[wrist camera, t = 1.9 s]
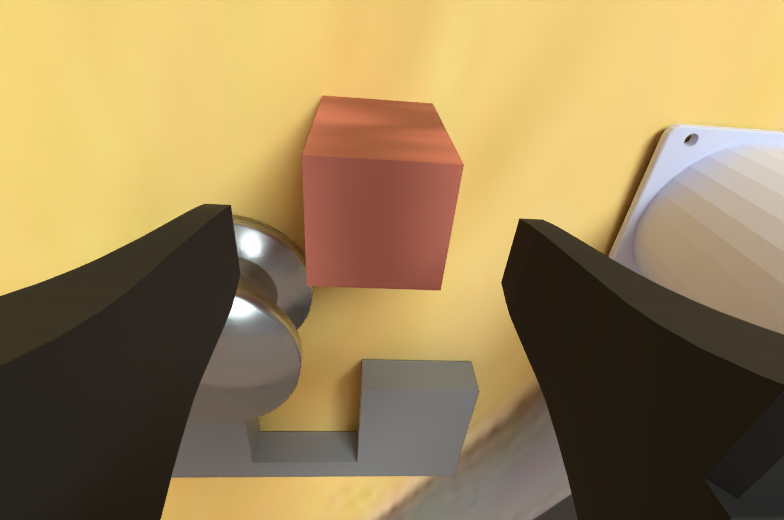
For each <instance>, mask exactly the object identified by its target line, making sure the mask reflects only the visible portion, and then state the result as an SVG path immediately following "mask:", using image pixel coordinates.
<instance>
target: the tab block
mask: <svg viewBox="0 0 784 520" xmlns="http://www.w3.org/2000/svg"><path fill="white" fill-rule="evenodd" d="M463 166H464V164H463V162H462V160H461V158H460V156H459V154H458V152H457V150H456V149H455V147H454V145H453V143H452V141H451V139H450V137H449V135H448V133H447V131H446V129H445V127H444V125H443V123H442V121H441V119H440V117H439V115H438V113H437V111H436V109H435V107H434V105H433V104H431V103H417V102H403V101H389V100H376V99H362V98H348V97H334V96H322V99H321V102H320V105H319V107H318V110H317V113H316V116H315V119H314V121H313V124H312V127H311V130H310V133H309V136H308V138H307V141H306V144H305V147H304V150H303V153H302V176H303V202H304V228H305V255H306V281H307V286H326V287H355V288H385V289H415V290H441V285H442V279H443V274H444V268H445V263H446V258H447V252H448V247H449V241H450V236H451V231H452V225H453V220H454V214H455V209H456V204H457V198H458V193H459V187H460V182H461V177H462V171H463Z"/></svg>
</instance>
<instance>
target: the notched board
mask: <svg viewBox="0 0 784 520" xmlns="http://www.w3.org/2000/svg"><path fill="white" fill-rule="evenodd" d="M478 393H479V389H478V385H477V381H476V378H475V374H474V370H473V367H472V363H471V361H418V360H363V359H362V372H361V388H360V405H359V421H358V432H260V431H259V424H258V417H256V418H253V419H250V420H245V421H240V422H233V423H217V424H216V423H200V422H192V421H187V424H186V427H185V430H184V434H183V437H182V440H181V444H180V448H179V451H178V455H177V458H176V462H175V466H174V469H173V473H172V476H171V477H325V476H454V473H455V470H456V466H457V463H458V460H459V456H460V453H461V450H462V446H463V443H464V440H465V436H466V433H467V430H468V426H469V423H470V420H471V416H472V413H473V410H474V406H475V403H476V400H477V396H478Z"/></svg>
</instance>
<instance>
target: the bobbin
mask: <svg viewBox="0 0 784 520" xmlns="http://www.w3.org/2000/svg"><path fill="white" fill-rule="evenodd" d="M232 217H233V224H234V231H235V238H236V245H237V252H238V259H239V266H240V273H241V275H240V279H239V283H238V287H237V291H236V295H235V299H234V302H233V306H232V309H231V311H230V314H229V316H228V319H227V321H226V323H225V326H224V328H223V331H222V333H221V335H220V338H219V340H218V342H217V345H216V347H215V349H214V351H213V354H212V356H211V358H210V361H209V363H208V365H207V368H206V370H205V372H204V375H203V377H202V379H201V382H200V384H199V387H198V390H197V392H196V395H195V398H194V400H193V404H192V407H191V410H190V414H189V417H188V420H187V421H192V422H200V423H216V424H217V423H233V422H240V421H245V420H250V419H253V418H256V417H259V416H262V415H264V414H267V413H269V412H270V411H272V410H274V409H276V408H277V407H278V406H280V405H281V404H282V403H284V402H285V401H286V400H287V399H288V398H289V396H290V395H291V394H292V392H293V391H294V389H295V387H296V385H297V382H298V378H299V374H300V368H301V362H302V344H301V340H300V337H299V334H298V332H297V329H298V328H299V327H300V326H301V325H302V323H303V322H304V320H305V319H306V317H307V315H308V313H309V310H310V306H311V301H312V295H313V286H307V281H306V258H305V257H304V255H303V254H302V252H301V251H300V250H299V248H298V247H297V246H296V245H295V244H294V243H293V242H292V241H291V240H290V239H289V238H287V237H286V236H285V235H283V234H282V233H281V232H279V231H278V230H276V229H274V228H272V227H271V226H269V225H266V224H264V223H262V222H260V221H257V220H254V219H251V218H247V217H242V216H237V215H232Z"/></svg>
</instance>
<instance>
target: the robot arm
mask: <svg viewBox="0 0 784 520" xmlns="http://www.w3.org/2000/svg"><path fill="white" fill-rule="evenodd" d="M690 134H692V136H691V138H690V140H689V141H688V142H686V143H684V141H685V139H686V137H687V136H689V135H690ZM240 275H241V273H240V266H239V259H238V252H237V245H236V238H235V231H234V224H233V217H232V211H231V205H217V204H203V205H201V206H198V207H196V208H194V209H192V210H190V211H188V212H186V213H184V214H183V215H181V216H179V217H177V218H175V219H174V220H172V221H170V222H168V223H166V224H165V225H163V226H161V227H159V228H157V229H156V230H154V231H152V232H150V233H148V234H146V235H145V236H143V237H141V238H139V239H137V240H135V241H133V242H131V243H129V244H127V245H125V246H123V247H121V248H119V249H117V250H115V251H113V252H111V253H109V254H107V255H105V256H103V257H101V258H99V259H97V260H95V261H92V262H90V263H88V264H86V265H83V266H81V267H79V268H76V269H74V270H71V271H69V272H66V273H64V274H61V275H59V276H56V277H54V278H51V279H49V280H46V281H44V282H41V283H38V284H35V285H32V286H29V287H26V288H23V289H20V290H17V291H14V292H11V293H8V294H5V295H2V296H0V520H160V519H161V515H162V512H163V508H164V504H165V500H166V496H167V492H168V488H169V484H170V480H171V476H172V473H173V469H174V466H175V462H176V458H177V455H178V451H179V448H180V444H181V440H182V437H183V434H184V430H185V427H186V424H187V420H188V417H189V414H190V410H191V407H192V404H193V400H194V398H195V395H196V392H197V390H198V387H199V384H200V382H201V379H202V377H203V375H204V372H205V370H206V368H207V365H208V363H209V361H210V358H211V356H212V354H213V351H214V349H215V347H216V345H217V342H218V340H219V338H220V335H221V333H222V331H223V328H224V326H225V323H226V321H227V319H228V316H229V314H230V311H231V309H232V306H233V302H234V299H235V295H236V291H237V287H238V283H239V279H240ZM501 283H502V287H503V291H504V296H505V300H506V304H507V307H508V311H509V314H510V317H511V319H512V322H513V324H514V327H515V329H516V331H517V334H518V336H519V338H520V341H521V343H522V345H523V348H524V350H525V352H526V355H527V357H528V359H529V362H530V364H531V366H532V368H533V371H534V373H535V375H536V378H537V380H538V382H539V385H540V387H541V390H542V392H543V395H544V398H545V400H546V403H547V407H548V410H549V413H550V416H551V420H552V423H553V426H554V430H555V433H556V436H557V440H558V443H559V447H560V451H561V454H562V458H563V462H564V465H565V469H566V473H567V476H568V480H569V484H570V488H571V493H572V497H573V500H574V505H575V509H576V514H577V518H578V520H784V131H775V130H762V129H748V128H734V127H720V126H706V125H693V124H674V125H672V126H670V127H668V128H667V129H666V130H665V131H664V132H663V134H662V136H661V138H660V140H659V142H658V145H657V147H656V149H655V151H654V154H653V156H652V158H651V160H650V163H649V165H648V167H647V170H646V172H645V174H644V176H643V179H642V181H641V183H640V185H639V188H638V190H637V192H636V195H635V197H634V199H633V201H632V204H631V206H630V208H629V210H628V213H627V215H626V217H625V219H624V222H623V224H622V226H621V229H620V231H619V233H618V235H617V238H616V240H615V242H614V244H613V247H612V249H611V251H610V254H609V256H608V257H607V256H606V255H604V254H602V253H601V252H599V251H597V250H596V249H594V248H592V247H591V246H589V245H587V244H586V243H584V242H582V241H581V240H579V239H577V238H576V237H574V236H572V235H571V234H569V233H567V232H566V231H564V230H562V229H560V228H559V227H557V226H555V225H553V224H551V223H549V222H547V221H544V220H537V219H519V222H518V226H517V229H516V233H515V236H514V240H513V243H512V247H511V250H510V254H509V257H508V261H507V264H506V268H505V271H504V275H503V279H502V282H501Z"/></svg>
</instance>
